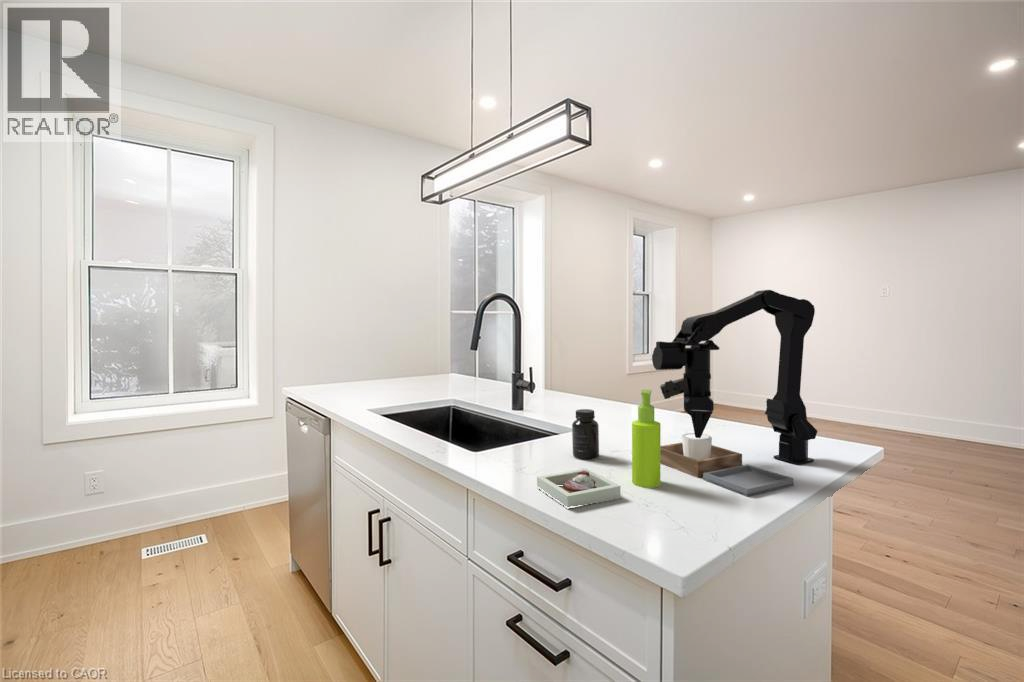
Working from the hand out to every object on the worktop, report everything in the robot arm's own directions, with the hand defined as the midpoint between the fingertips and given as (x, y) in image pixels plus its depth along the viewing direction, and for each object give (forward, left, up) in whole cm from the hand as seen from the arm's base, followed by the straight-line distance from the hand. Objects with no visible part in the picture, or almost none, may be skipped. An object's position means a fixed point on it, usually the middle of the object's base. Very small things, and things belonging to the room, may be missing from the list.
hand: (697, 433), depth 112 cm
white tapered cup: (0, 0, -8) cm, 8 cm away
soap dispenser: (+19, +4, -8) cm, 21 cm away
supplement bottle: (+20, -18, -8) cm, 28 cm away
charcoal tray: (0, +14, -8) cm, 16 cm away
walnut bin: (0, 0, -8) cm, 8 cm away
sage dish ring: (+36, +3, -8) cm, 37 cm away
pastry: (+36, +4, -8) cm, 37 cm away
